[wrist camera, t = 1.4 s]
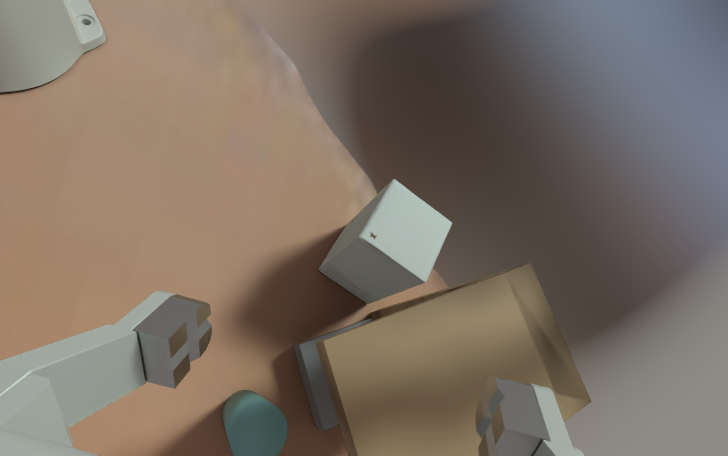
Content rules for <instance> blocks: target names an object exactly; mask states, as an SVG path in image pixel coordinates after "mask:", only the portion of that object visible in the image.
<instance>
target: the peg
mask: <svg viewBox="0 0 728 456" xmlns="http://www.w3.org/2000/svg"><path fill="white" fill-rule="evenodd" d="M223 422H224V425H225V429H226V433H227V437H228V440H229V444H230V448H231V451H232V453H233V455H234V456H277V455H278V454H279V453H280V451H281V450H282V448H283V446H284V444H285V442H286V438H287V432H288V427H287V421H286V418H285V416H284V414H283V413H282V411H281V410H280V409H279V408H278V407H276V406H275V405H273V404H272V403H270V402H269V401H267V400H266V399H264V398H263V397H261V396H260V395H258V394H257V393H255V392H253V391H250V390H242V391H238V392H236V393H235V394H233V395H232V396H231V397H230V398H229V399H228V400H227V402H226V403H225V405H224V408H223Z"/></svg>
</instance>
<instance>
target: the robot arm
mask: <svg viewBox="0 0 728 456" xmlns="http://www.w3.org/2000/svg"><path fill="white" fill-rule="evenodd" d="M85 24H89V25H85ZM105 40H106V35H105V33H104V31H103V29H102V26H101V24H100V22H99V20H98V18H97V16H96V14H95V12H94V10H93V8H92V6H91V4H90V2H89V0H0V92H10V91H18V90H24V89H29V88H33V87H36V86H40V85H42V84H45V83H47V82H50V81H52V80H54V79H56V78H57V77H59V76H61V75H62V74H63V73H65V72H66V71H67V70H68V69H69V68H70V67H71V66H72V65H73V64H74V63H75V61H76V60H77V59H78V58H79V57H80V56H81V55H82V54H83V53H84V52H87V51H89V50H91V49H93V48H96V47H98V46H99V45H101V44H102V43H104V42H105ZM210 314H211V311H210V305H209V304H208V303H206V302H202V301H198V300H195V299H191V298H188V297H184V296H181V295H177V294H172V293H169V292H165V291H161V290H160V291H156V292H154V293H153V294H151V295H150V296H149V297H148V298H146V299H145V300H144V301H143V302H142V303H140V304H139V305H138V306H137V307H135V308H134V309H133V310H132V311H131V312H129V313H128V314H127V315H126V316H124V317H123V318H122V319H121V320H120V321H118V322H117V323H116V324H115V325H109V324H108V325H105V326H102V327H99V328H96V329H93V330H90V331H87V332H84V333H81V334H78V335H75V336H72V337H69V338H66V339H63V340H60V341H57V342H55V343H52V344H49V345H46V346H43V347H40V348H37V349H34V350H31V351H28V352H25V353H22V354H19V355H16V356H13V357H10V358H7V359H4V360H1V361H0V456H98V455H95V454H92V453H89V452H85V451H82V450H79V449H76V448H73V441H72V438H71V436H70V433H69V430H68V428H69V427H71V426H72V425H74V424H76V423H77V422H79V421H81V420H83V419H84V418H86V417H88V416H90V415H91V414H93V413H95V412H97V411H98V410H100V409H102V408H104V407H105V406H107V405H109V404H110V403H112V402H114V401H116V400H117V399H119V398H121V397H123V396H124V395H126V394H128V393H130V392H131V391H133V390H135V389H137V388H138V387H140V386H142V385H143V384H145V383H146V382H150V383H154V384H159V385H163V386H167V387H171V388H176V387H177V385H178V384H179V383H180V382H181V380H182V379H183V378H184V377H185V375H186V374H187V373H188V372H189V370H190V362H191V361H193V360H195V359H197V358H200V357H201V355H202V354H203V353H204V351H205V350H206V348H207V346H208V344H209V342H210V339H211V333H212V326H211V324H210V323H209V321H208V320H207V318H208V316H209V315H210ZM486 389H487V392H486V393H484V394H482V395H481V396H480V398H479V401H478V403H477V409H476V432H477V433H478V435H479V436H480V437H481V439H482V441H481V443H480V445H479V447H478V452H479V456H585V455H584V454H583V453H582V452H581V451H580V450H579V449H576V448H573V446H572V444H571V441H570V438H569V435H568V433H567V430H566V427H565V424H564V421H563V419H562V416H561V413H560V410H559V407H558V405H557V402H556V399H555V396H554V393H553V391H552V390H551V389H550V388H547V387H543V386H539V385H535V384H529V383H526V382H522V381H518V380H514V379H509V378H505V377H501V376H497V375H493V374H492V375H491V376H490V377H489V378H488V380H487V382H486Z"/></svg>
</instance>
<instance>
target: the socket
mask: <svg viewBox="0 0 728 456" xmlns="http://www.w3.org/2000/svg"><path fill="white" fill-rule="evenodd" d="M371 321H372V320H371V319H367V320H363V321H360V322H357V323H354V324H352V325H349V326H346V327H343V328H341V329H338V330H335V331H332V332H330V333H327V334H324V335H322V336H319V337H316V338H313V339H311V340H308V341H305V342H302V343H300V344H297V345H294V346H293V348H294V352H295V355H296V359H297V362H298V366H299V369H300V373H301V377H302V380H303V384H304V387H305V391H306V394H307V398H308V401H309V405H310V408H311V412H312V416H313V419H314V423H315V426H316V427H317V428H319V429H321V430H322V431H324V432H325V431H327V430H329V429H331V428H333V427H335V426H337V425H339V422H338V418H337V415H336V411H335V408H334V405H333V401H332V399H331V396H330V392H329V389H328V385H327V382H326V379H325V375H324V372H323V368H322V365H321V362H320V358H319V354H318V351H317V347H316V344H315V342H317V341H320V340H323V339H325V338H328V337H331V336H333V335H336V334H339V333H342V332H344V331H347V330H350V329H352V328H355V327H358V326H360V325H363V324H366V323H368V322H371Z"/></svg>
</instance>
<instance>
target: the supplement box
mask: <svg viewBox="0 0 728 456" xmlns="http://www.w3.org/2000/svg"><path fill="white" fill-rule="evenodd" d="M451 225H452V222H450V221H449V220H447V219H446V218H445V217H444V216H442V215H441V214H440V213H438V212H437V211H436V210H434V209H433V208H432V207H430V206H429V205H428V204H426V203H425V202H424V201H422V200H421V199H419V198H418V197H417V196H416V195H414V194H413V193H412V192H411V191H409V190H408V189H407V188H405V187H404V186H403V185H401V184H400V183H399V182H398V181H397V180H395V179H394V180H393V181H391V182H390V183H389V184H388V185H387V186H386V187H385V188H384V189H383V190H382V191H381V192H380V193H379V194H378V195H377V196H376V197H375V198H374V199H373V200H372V201H371V202H370V203H369V204H368V205H366V206H365V207H364V208H363V209H362V210H361V211H360V212H359V213H358V214H357V215H356V216H355V217H354V218H353V219H352V220H351V221H350V222H349V223H348V224H347V225H346V227H345V228H344V230H343V231H342V233H341V234H340V236H339V237H338V239H337V240H336V242H335V243H334V245H333V247H332V248H331V250H330V251H329V253H328V255H327V256H326V258H325V259H324V261H323V262H322V264H321V266H320V267H319V269H318V270H319V271H320V272H322V273H323V274H325V275H326V276H327V277H329V278H330V279H332V280H333V281H335V282H336V283H338V284H339V285H341V286H342V287H344V288H345V289H346V290H348V291H349V292H351V293H352V294H354V295H355V296H357V297H358V298H360V299H361V300H363V301H364V302H366V303H367V304H369V303H372V302H375V301H377V300H380V299H383V298H385V297H388V296H391V295H393V294H396V293H398V292H401V291H404V290H406V289H409V288H412V287H414V286H417V285H420V284H422V283H425V282H426V281H427V278H428V276H429V274H430V272H431V270H432V267H433V265H434V263H435V261H436V258H437V256H438V254H439V252H440V249H441V247H442V245H443V243H444V240H445V238H446V236H447V233H448V231H449V229H450V227H451Z"/></svg>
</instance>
